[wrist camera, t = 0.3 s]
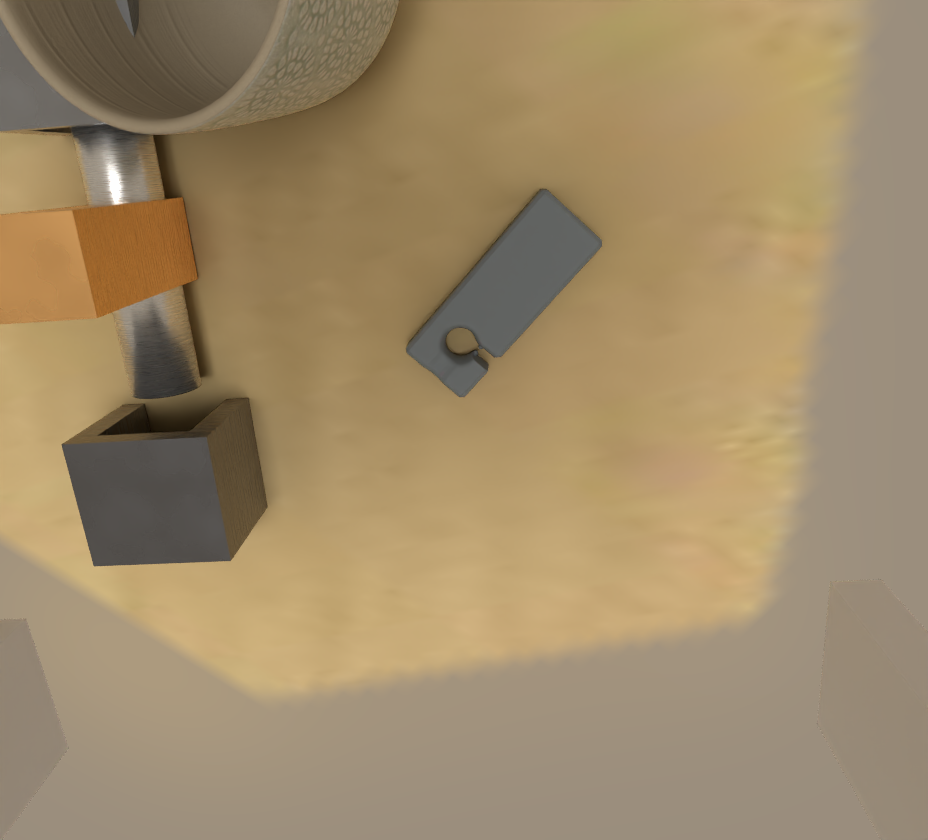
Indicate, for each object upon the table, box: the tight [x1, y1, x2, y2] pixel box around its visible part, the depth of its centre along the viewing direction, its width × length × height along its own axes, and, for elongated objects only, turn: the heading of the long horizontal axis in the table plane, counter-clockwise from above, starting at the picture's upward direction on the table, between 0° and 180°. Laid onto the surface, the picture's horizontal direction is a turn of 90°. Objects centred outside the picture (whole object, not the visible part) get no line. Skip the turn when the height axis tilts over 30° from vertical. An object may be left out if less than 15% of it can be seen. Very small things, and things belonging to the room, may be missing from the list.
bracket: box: [406, 189, 602, 397], centre depth 37 cm, size 4×10×2 cm, turn 139°
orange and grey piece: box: [0, 124, 201, 399], centre depth 32 cm, size 19×4×10 cm, turn 4°
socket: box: [62, 398, 267, 566], centre depth 39 cm, size 6×7×6 cm
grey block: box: [0, 0, 139, 136], centre depth 32 cm, size 10×7×5 cm
